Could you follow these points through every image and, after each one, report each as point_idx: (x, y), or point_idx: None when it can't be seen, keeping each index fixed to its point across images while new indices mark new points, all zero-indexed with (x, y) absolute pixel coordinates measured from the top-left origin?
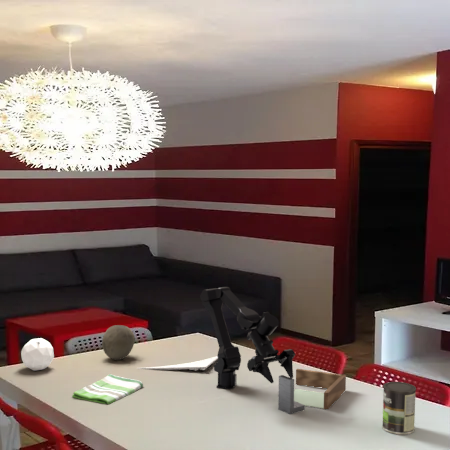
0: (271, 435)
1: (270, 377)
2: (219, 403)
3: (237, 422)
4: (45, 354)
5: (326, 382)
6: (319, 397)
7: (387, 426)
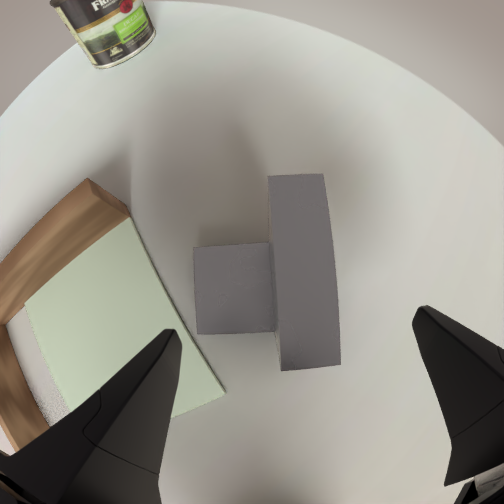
0: (442, 137)
1: (459, 323)
2: (427, 466)
3: (486, 280)
4: None
5: (5, 372)
6: (69, 321)
7: (150, 28)
